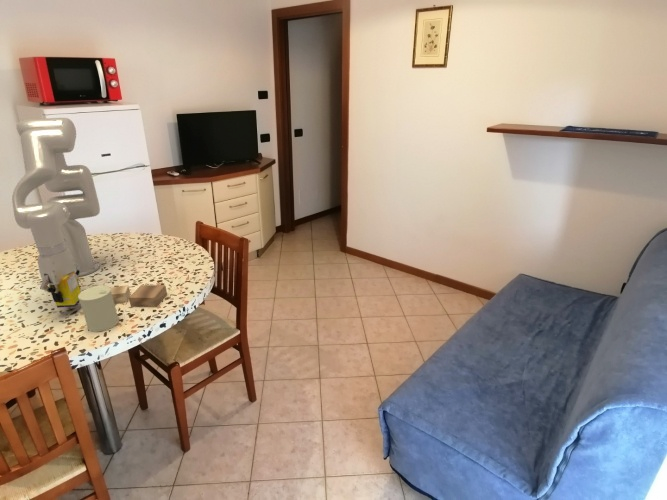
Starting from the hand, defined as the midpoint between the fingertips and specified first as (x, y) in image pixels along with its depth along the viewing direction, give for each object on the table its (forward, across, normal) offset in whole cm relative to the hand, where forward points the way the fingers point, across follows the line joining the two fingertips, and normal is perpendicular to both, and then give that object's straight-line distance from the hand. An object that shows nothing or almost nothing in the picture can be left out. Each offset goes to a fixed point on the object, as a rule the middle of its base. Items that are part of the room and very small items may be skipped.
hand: (67, 295), depth 138 cm
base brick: (+6, -10, +23) cm, 26 cm away
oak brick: (+6, -9, +12) cm, 16 cm away
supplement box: (+3, 0, 0) cm, 3 cm away
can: (+6, +6, +16) cm, 18 cm away
